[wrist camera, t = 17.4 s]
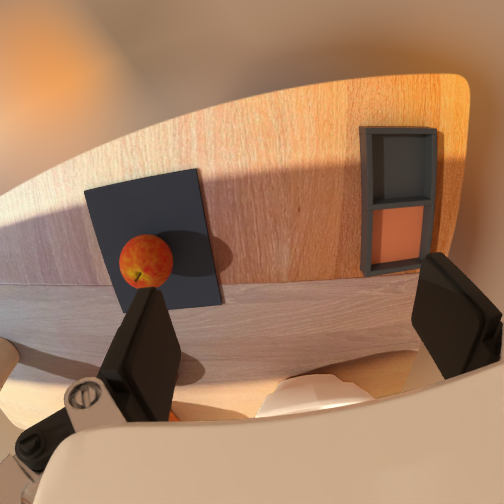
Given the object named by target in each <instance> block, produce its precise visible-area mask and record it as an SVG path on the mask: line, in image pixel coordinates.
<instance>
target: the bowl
mask: <svg viewBox="0 0 504 504" xmlns="http://www.w3.org/2000/svg"><path fill="white" fill-rule="evenodd" d="M373 399H375V398H374V397H373V396H371V395H370V394H369V393H367V392H366V391H364V390H363V389H361V388H360V387H358V386H357V385H356V384H354V383H351V382H342V381H341V380H340V379H339V378H337V377H336V376H335V375H333V374H313V375H304V376H299V377H295V378H291V379H287V380H283V381H281V382H279V384H278V385H277V388H276V390H275V392H274V393H271V394H269V395H267V396H266V398H265V400H264V402H263V403H262V405H261V407H260V409H259V410H258V412H257V414H256V416H255V417H254V418H259V417H269V416H278V415H287V414H294V413H302V412H309V411H315V410H322V409H328V408H333V407H339V406H344V405H350V404H355V403H359V402H364V401H369V400H373Z"/></svg>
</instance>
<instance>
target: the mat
mask: <svg viewBox="0 0 504 504" xmlns="http://www.w3.org/2000/svg"><path fill="white" fill-rule="evenodd" d="M84 194H85V198H86V202H87V206H88V209H89V213H90V217H91V220H92V223H93V227H94V230H95V234H96V237H97V240H98V243H99V246H100V249H101V253H102V256H103V259H104V262H105V265H106V267H107V270H108V273H109V276H110V279H111V282H112V284H113V287H114V290H115V293H116V295H117V298H118V300H119V303H120V306H121V308H122V311H123V313H127V311H128V309H129V307H130V305H131V303H132V301H133V298H134V296H135V294H136V292H137V290H138V289H137V288H135V287H133V286H131V285H130V284H128V283H127V281H126V280H125V279H124V277H123V276H122V273H121V271H120V265H119V260H120V255H121V252H122V250H123V248H124V246H125V245H126V244H127V242H128V241H130V240H131V239H132V238H134V237H136V236H139V235H143V234H150V235H154V236H157V237H159V238H160V239H162V240H163V241H164V242H165V243H166V244H167V245H168V246H169V248H170V250H171V252H172V256H173V268H172V271H171V274H170V276H169V277H168V279H167V280H166V281H165V282H164V283H163V284H162V285H161V286H159V287H157V288H156V289H157V290H161V292H162V294H163V297H164V300H165V303H166V306H167V310H173V309H184V308H195V307H205V306H215V305H222V301H221V296H220V291H219V286H218V282H217V277H216V272H215V267H214V262H213V257H212V252H211V247H210V241H209V236H208V231H207V226H206V220H205V215H204V210H203V204H202V199H201V193H200V187H199V182H198V176H197V170H196V168H195V169H189V170H183V171H177V172H172V173H166V174H161V175H155V176H150V177H145V178H140V179H135V180H130V181H125V182H121V183H116V184H112V185H107V186H103V187H98V188H94V189H90V190H86V191H84Z"/></svg>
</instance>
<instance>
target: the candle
mask: <svg viewBox="0 0 504 504" xmlns="http://www.w3.org/2000/svg"><path fill="white" fill-rule="evenodd" d="M19 360H20V356H19V353H18V351H17V349H16V348H15V347H14V346H13V345H12V344H11V343H10V342H9V341H8V340H6V339H4V338H0V391H1V389H2V387H3V385H4V383H5V382H6V380H7V378H8V377H9V375H10V374H11V372H12V371H13V369H14V368H15V366H16V365H17V363H18V362H19Z"/></svg>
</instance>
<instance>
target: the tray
mask: <svg viewBox="0 0 504 504" xmlns="http://www.w3.org/2000/svg"><path fill="white" fill-rule="evenodd" d="M436 134H437V129H436V128H431V127H415V126H361V127H359V136H360V155H361V190H362V226H361V262H360V270H361V271H362V273H363V274H364V276H365V277H369V276H376V275H382V274H388V273H395V272H401V271H407V270H413V269H419V268H421V262H422V260H423V259H424V258H425V256H426V255H427V254H430V248H431V240H432V231H433V221H434V210H435V196H436V176H437V135H436Z"/></svg>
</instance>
